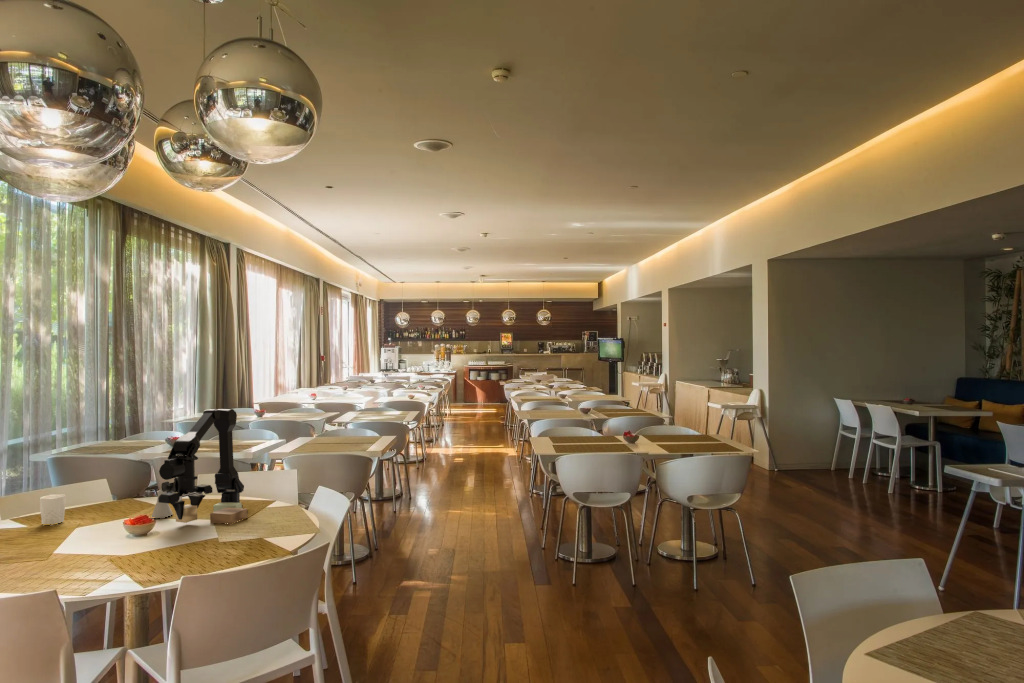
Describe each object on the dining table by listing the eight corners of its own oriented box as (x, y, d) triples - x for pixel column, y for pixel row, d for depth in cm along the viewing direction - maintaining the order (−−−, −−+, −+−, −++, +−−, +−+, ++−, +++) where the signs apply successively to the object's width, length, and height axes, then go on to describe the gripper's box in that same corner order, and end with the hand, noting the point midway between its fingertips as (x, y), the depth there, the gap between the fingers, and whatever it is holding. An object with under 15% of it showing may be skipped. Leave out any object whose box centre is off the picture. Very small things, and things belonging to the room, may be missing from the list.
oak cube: (187, 518, 243) (187, 504, 243) (197, 519, 241) (197, 505, 241) (175, 521, 238) (175, 507, 238) (185, 522, 236) (185, 508, 236)
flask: (176, 514, 256) (176, 488, 256) (165, 519, 249) (164, 492, 249) (159, 514, 257) (158, 488, 257) (147, 519, 250) (146, 492, 250)
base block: (227, 517, 251) (227, 507, 251) (247, 519, 249) (247, 508, 249) (210, 524, 243) (210, 513, 243) (230, 525, 240) (230, 514, 240)
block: (219, 512, 259) (219, 502, 259) (241, 512, 258) (241, 502, 258) (213, 515, 255) (213, 505, 255) (235, 515, 254) (235, 505, 254)
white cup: (34, 525, 244) (34, 498, 244) (56, 519, 251) (56, 493, 251) (49, 527, 241) (48, 499, 241) (70, 521, 248) (70, 494, 248)
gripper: (191, 468, 252) (192, 509, 251) (147, 477, 234) (147, 522, 234) (213, 470, 247) (213, 512, 247) (169, 479, 230) (170, 524, 230)
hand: (186, 517), depth 240 cm, fingers closed on oak cube, 5 cm apart
